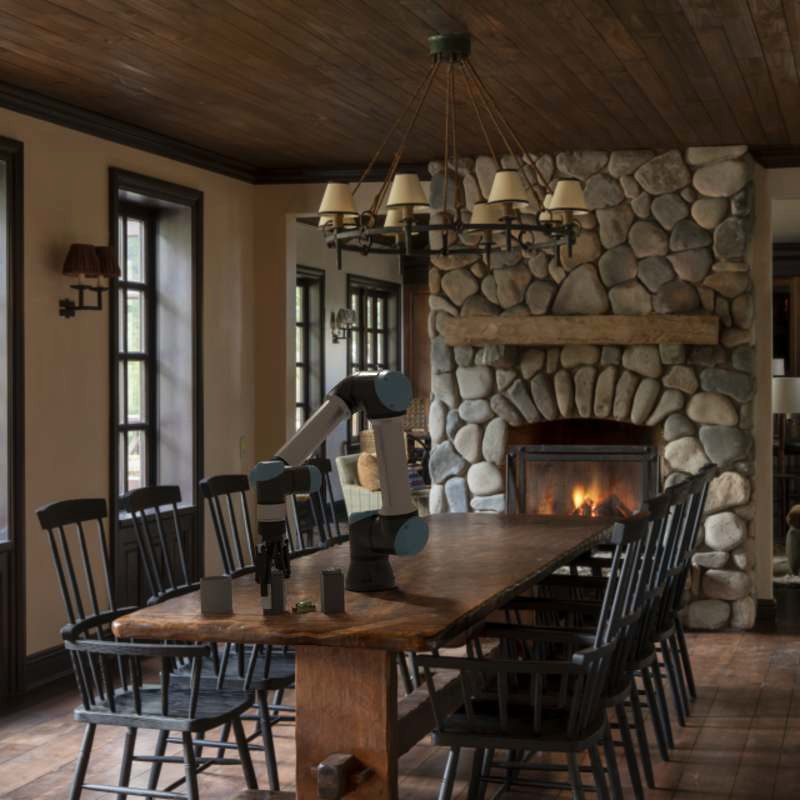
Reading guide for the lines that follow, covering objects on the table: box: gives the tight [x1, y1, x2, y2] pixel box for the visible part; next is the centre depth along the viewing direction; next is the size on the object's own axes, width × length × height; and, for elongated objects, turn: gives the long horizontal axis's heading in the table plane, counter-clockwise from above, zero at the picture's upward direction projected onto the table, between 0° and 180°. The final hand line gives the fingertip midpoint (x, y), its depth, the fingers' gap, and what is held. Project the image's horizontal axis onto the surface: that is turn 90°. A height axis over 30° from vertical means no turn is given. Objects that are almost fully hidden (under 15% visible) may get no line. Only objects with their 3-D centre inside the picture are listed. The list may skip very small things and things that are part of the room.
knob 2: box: [319, 567, 346, 615], centre depth 344 cm, size 5×5×11 cm
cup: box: [199, 575, 234, 615], centre depth 350 cm, size 8×8×10 cm
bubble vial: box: [291, 600, 317, 615], centre depth 345 cm, size 6×2×3 cm, turn 131°
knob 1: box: [262, 568, 287, 615], centre depth 345 cm, size 5×5×11 cm
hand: (274, 605), depth 345 cm, fingers closed on knob 1, 7 cm apart
